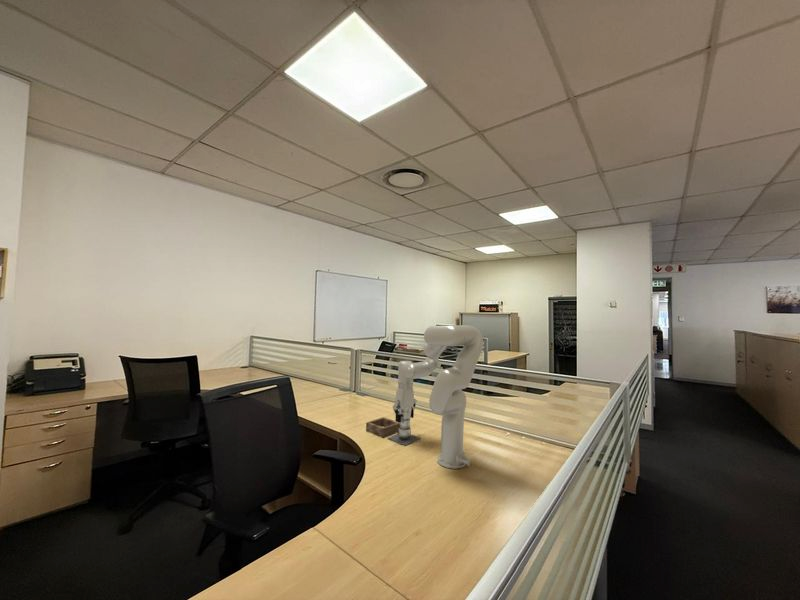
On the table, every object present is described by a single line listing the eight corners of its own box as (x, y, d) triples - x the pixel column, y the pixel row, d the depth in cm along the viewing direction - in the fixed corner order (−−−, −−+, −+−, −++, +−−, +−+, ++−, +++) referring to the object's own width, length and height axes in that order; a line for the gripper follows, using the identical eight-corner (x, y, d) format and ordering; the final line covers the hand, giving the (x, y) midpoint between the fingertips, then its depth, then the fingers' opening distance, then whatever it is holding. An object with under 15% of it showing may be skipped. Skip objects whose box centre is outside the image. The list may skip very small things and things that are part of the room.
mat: (420, 439, 165) (420, 438, 165) (405, 446, 156) (405, 444, 156) (403, 432, 173) (403, 431, 173) (387, 439, 164) (387, 437, 164)
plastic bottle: (403, 434, 169) (404, 395, 170) (413, 437, 164) (414, 398, 165) (395, 438, 164) (396, 398, 165) (405, 441, 160) (406, 400, 160)
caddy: (400, 431, 175) (400, 422, 175) (383, 438, 165) (383, 429, 165) (383, 425, 184) (383, 417, 184) (366, 431, 174) (366, 422, 174)
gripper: (410, 381, 174) (409, 414, 174) (388, 386, 161) (387, 421, 161) (421, 384, 169) (421, 417, 169) (399, 389, 156) (398, 425, 156)
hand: (404, 419), depth 165 cm, fingers open, 9 cm apart
